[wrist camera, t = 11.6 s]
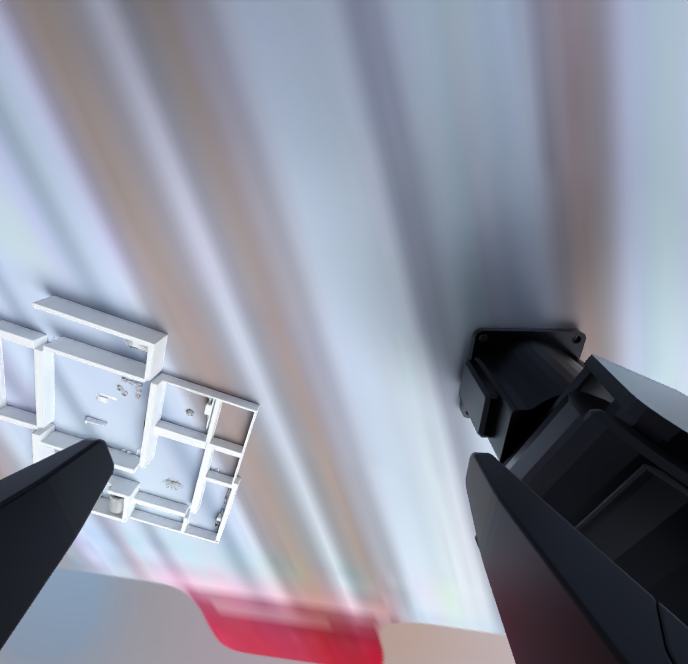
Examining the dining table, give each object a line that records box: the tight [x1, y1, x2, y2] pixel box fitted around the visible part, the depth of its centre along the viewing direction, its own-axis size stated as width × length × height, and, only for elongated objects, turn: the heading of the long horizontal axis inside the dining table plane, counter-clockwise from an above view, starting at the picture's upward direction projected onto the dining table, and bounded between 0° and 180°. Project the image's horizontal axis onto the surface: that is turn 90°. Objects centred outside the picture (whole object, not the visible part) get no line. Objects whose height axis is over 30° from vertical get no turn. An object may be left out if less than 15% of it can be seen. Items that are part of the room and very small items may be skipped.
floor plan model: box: [0, 296, 260, 544], centre depth 24 cm, size 19×25×2 cm
